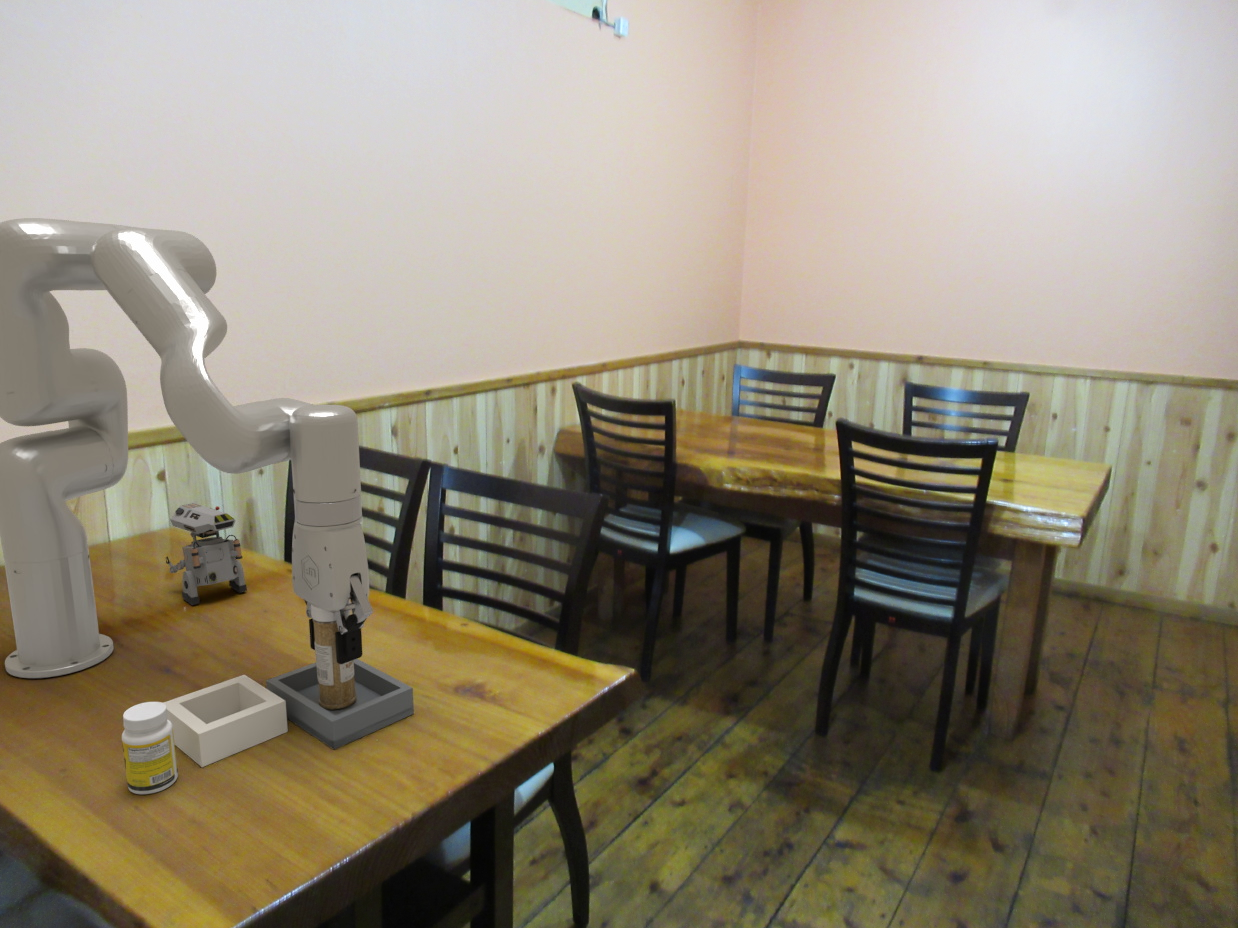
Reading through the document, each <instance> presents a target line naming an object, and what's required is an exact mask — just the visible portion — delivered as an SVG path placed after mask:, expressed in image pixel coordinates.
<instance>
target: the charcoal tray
mask: <svg viewBox="0 0 1238 928" xmlns="http://www.w3.org/2000/svg"><path fill="white" fill-rule="evenodd" d="M353 662H354V682H355V693H356V696H357V698H356V700H355V702H354V703H352V704H351V705H349V706H347V707H345V708H341V709H334V710H332V709H326V708H323V707H322V706H320V704H319V698H320V695H319V682H318V678H317V667H316V662H313V663H311V664H308V665H305V666H302V667H300V668H296V669H294V670H292V671H288V672H285V673H282V674H279V675H277V676H274V677H272V678H269V679H266V680H265V684H266V685H265V686H266V689H268V690H269V691H271V692H272V693H274V694H276V695H277V696H279V697H280V698H282V699H283V700H285V701H286V715H287V721H290V722H292V723H293V724H295V726H297V727H299V728H301V729H302V730H304V731H305V732H306V733H308V734H309V735H311V736H313V737H314V738H315V739H317V740H319V741H320V742H322V743H323V744H325V745H326V746H327V747H329V748H330V749H332V750H337V749H339V748H340V747H342V746H346V745H348V744H350V743H352V742H355V741H356V740H358V739H361V738H363V737H365V736H367V735H370V734H372V733H375V732H376V731H378V730H381V729H383V728H385V727H387V726H388V727H389V726H390V725H392V724H394V723H396V722H398V721H401V720H403V719H406V718H408V717H409V716H412V715H414V713H415V711H414V709H415V708H414V707H415V706H414V691H413V690H414V687H413V686H410V685H408V684H406V683H405V682H403V681H401V680H399V679H397V678H395V677H393V676H391V675H389V674H387V673H385V672H383V671H382V670H379V669H378V668H376V667H374V666H372V665H371V664H368V663H366V662H364V661H362V660H360V658H358V659H355V660H353Z"/></svg>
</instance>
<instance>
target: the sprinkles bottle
mask: <svg viewBox="0 0 1238 928" xmlns="http://www.w3.org/2000/svg"><path fill="white" fill-rule="evenodd" d="M349 603H351V599H348V601H347V604H349ZM351 614H352V609H350V610H347V611H344V615H345V619H347V618H348V616H349V615H351ZM311 616H312V618H313V622H314V635H315V650H314V651H315V652H314V653H315V655H314V656H315V663H316V667H317V678H318V682H319V695H320V698H319V704H320V706H322V707H323V708H326V709H332V710H334V709H341V708H345V707H347V706H349V705H351V704H352V703H354V702H355V700H356V698H357V696H356V693H355V682H354V662H353V660H352V661H349V662H347V663H344V664H339V663H337V659H336V641H335V633H336V632H339V630H338V626H337V621H336V616H335V613H332V612H329V611H326V610H324V609H322V608H320V607H318V606H316V605H314V604H312V603H311ZM312 618H311V619H312Z"/></svg>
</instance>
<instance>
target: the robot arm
mask: <svg viewBox="0 0 1238 928" xmlns="http://www.w3.org/2000/svg"><path fill="white" fill-rule="evenodd" d="M215 261H216V260H215V258H214V256H213V254H212V252H211V251H210V249H209V248H208V246H206V244H205V243H204V242H203V241H201V240H200V238H198V237H196V236H195V235H192V234H190V233H188V232H185V231H180V230H173V229H172V230H169V229H155V228H147V227H146V228H145V227H138V226H130V225H129V226H128V225H122V224H112V223H102V222H101V223H100V222H90V221H89V222H87V221H75V220H68V219H67V220H66V219H58V218H57V219H55V218H54V219H53V218H37V217H31V218H29V217H27V218H14V219H9V220H4V221H2V222H0V418H1V419H2V420H3V421H4V422H5V423H8V424H10V425H12V426H18V427H38V426H44V425H45V426H46V425H52V424H59V423H65V422H68V424H67V425H68V427H67V428H62V429H55V430H47V431H42V432H41V431H40V432H37V433H32V434H31V433H30V434H26V435H20V436H17V437H16V436H15V437H13V438H9V439H7V440H4V441H2V442H0V542H1V549H2V550H1V551H2V555H3V561H4V562H3V563H4V569H5V576H6V582H7V588H8V590H7V591H8V596H9V601H10V602H9V603H10V609H11V616H12V617H11V618H12V622H13V623H12V624H13V631H14V638H15V644H16V649H15V650H14V651H12V652H11V653H10V654H9V655H7V657H6V658H5V660H4V666H5V667H4V668H5V671H6V672H7V673H8V674H9V675H11V676H14V677H18V678H21V679H22V678H23V679H44V678H45V679H46V678H52V677H60V676H64V675H68V674H72V673H76V672H79V671H82V670H85V669H88V668H90V667H93V666H96V665H97V664H100V663H101V662H103V661H105V659H107V658H108V657H109V656H110V655H111V654H112V653H113V651H114V641H113V639H112V638H111V637H110V636H108V635H105V634H102V633H100V632H99V624H98V623H99V622H98V616H97V607H96V599H95V592H94V591H95V590H94V583H93V574H92V566H91V560H90V559H91V558H90V557H91V556H90V551H89V542H88V535H87V531H86V529H85V526H84V524H83V522H82V521H81V520H80V519H79V517H77V516H76V515H75V513H74V512H73V511H72V509H70V507H69V506H68V505H67V501H70V500H73V499H77V498H81V497H82V496H83V497H84V496H86V495H90V494H95V493H98V492H100V491H104V490H107V489H110V488H112V487H114V486H115V485H117V484H118V483H119V482H120V481H121V480H122V479H123V478H124V476H125V474H126V472H127V468H128V462H129V419H128V418H129V415H128V412H129V411H128V409H129V408H128V405H129V404H128V389H127V385H126V381H125V378H124V374H123V373H122V370H121V368H120V367H119V365H118V364H117V363H116V361H115V360H114V358H112V357H111V356H109V355H108V354H106V353H105V352H103V351H101V350H97V349H94V348H86V347H82V348H81V347H80V348H71V347H70V325H69V321H68V317H67V315H66V313H65V310H64V309H63V308H62V306H61V304H60V302H58V300H57V298H56V297H55V296H54V294H52V292H53V291H80V292H81V291H106V292H107V293H108V294H109V295H110V296H111V298H112V300H113V301H115V303H116V304H117V306H119V307H120V309H121V310H122V311H123V313H124V314H125V315H126V316H127V317H128V319H129V320H130V322H132V323H133V325H134V327H136V328H137V329H138V331H139V332H140V334H141V335H142V337H144V338H145V340H146V341H147V342H148V344H149V345H150V346H151V347H152V348H153V350H155V352H156V353H157V355H158V356H159V358H160V360H161V364H160V371H159V372H160V373H159V381H160V382H159V383H160V388H161V394H162V400H163V404H164V407H165V409H166V413H167V414H168V416H169V418H170V420H171V422H172V423H173V425H174V426H175V427H176V428H177V430H178V432H179V433H180V434H181V435H182V437H184V440H186V442H188V444H189V445H190V447H191V448H192V449H193V451H195V452H196V453H197V454H198V456H200V457H201V458H202V459H203V460H204V461H205V462H206V463H208V465H210V466H211V467H213V468H215V469H216V470H218V471H221V472H223V473H226V474H236V475H237V474H244V473H248V472H251V471H255V470H259V469H262V468H264V467H268V466H270V465H275V464H279V463H284V462H287V461H291V462H290V463H291V473H292V489H293V504H294V505H293V506H294V524H293V529H292V540H291V541H292V542H291V543H292V544H291V545H292V546H291V578H292V591H293V592H294V594H295V596H297V597H299V598H300V599H302V600H303V601H304V603H305V605H306V610H305V613H306V616H307V618H309V619H308V624H309V625H308V629H309V643H310V648H311V650H313V651H315V635H314V622H313V618H312V616H311V603H312V604H314V605H316V606H318V607H320V608H322V609H324V610H326V611H329V612H332V613H335V616H336V621H337V626H338V630H339V632H336V633H335V641H336V659H337V663H339V664H344V663H347V662H349V661H352V660H355V659H361V657H363V639H362V637H363V636H362V634H363V633H362V628H364V626H365V624H364V623H365V622H366V621H367V619H368V618H369V617H370V616H372V615H373V613H374V611H373V607H372V604H371V603H370V601H369V596H370V575H369V564H368V555H367V554H368V553H367V549H366V548H367V547H366V542H365V536H364V531H363V527H362V526H363V525H362V521H363V512H362V511H363V510H362V509H363V506H362V486H361V482H362V481H361V465H360V464H361V463H360V462H361V461H360V445H359V444H360V441H359V425H358V424H359V423H358V417H357V414H356V412H355V410H353V409H352V408H350V407H349V406H346V405H340V404H313V403H310V402H309V403H308V402H306V401H302V400H299V399H294V398H287V397H286V398H285V397H277V398H271V399H266V400H260V401H259V400H258V401H253V402H248V403H244V404H243V403H242V404H239V405H233V404H232V403H231V402H230V401H229V400H228V399H227V398H226V397H225V395H224V394H223V393H222V391H221V390H220V389H219V388H218V386H217V385H216V384H215V383H214V381H213V379H212V378H211V376H210V374H209V372H208V370H207V366H206V362H205V359H206V358H207V357H208V356H210V355H211V354H212V353H213V352H214V351H215V350H217V348H218V347H219V346H220V345H221V344H222V342H223V341H224V339H225V337H226V335H227V334H228V333H227V332H228V323H227V320H226V319H225V316H224V315H223V314H222V313H221V312H220V310H219V309H218V308H217V307H216V306H215V304H214V303H213V302H212V301H211V300H210V298H208V296H207V295H206V294H208V293H209V292H210V290H211V289H212V288H213V287H214V285H215V283H216V279H217V264H216V262H215ZM348 599H350V603H349V604H347V601H348ZM350 609H351V614H350V615H349V616H348V618H347V619H345V615H344V611H347V610H350Z"/></svg>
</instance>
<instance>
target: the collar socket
mask: <svg viewBox="0 0 1238 928" xmlns="http://www.w3.org/2000/svg"><path fill="white" fill-rule="evenodd" d="M162 703H163V704H165V705H166V708H167V715H168V720H169V721H170V722H171V723H172V726H173V734H174V743H175V747H177V748H178V749H179V750H181V752H183V753H184V754H186V755H187V757H189V758H190V759H191V760H193V761H194V762H195V763H196V764H198V766H200V767H201V768H204V767H206V766H209V765H211V764H214V763H216V762H218V761H221V760H223V759H225V758H228V757H230V756H233V755H235V754H237V753H240V752H242V751H245V750H248V749H250V748H251V747H255V746H257V745H260V744H261V743H264V742H266V741H269V740H271V739H274V738H276V737H279V736H281V735H284V734H286V733H287V732H289V731H288V729H289V728H288V719H287V715H286V701H285V700H283V699H282V698H280V697H279V696H277V695H276V694H274V693H272V692H271V691H269V690H268V689H267V687H265V686H263V685H261V684H260V683H258V682H257V681H255V680H254V679H252V678H250V677H249V676H248V675H246V674H242V675H239V676H236V677H234V678H230V679H228V680H224V681H221V682H219V683H216V684H213V685H210V686H207V687H204V688H202V689H199V690H196V691H193V692H190V693H187V694H184V695H182V696H178V697H175V698H173V699H170V700H167V701H164V702H162Z"/></svg>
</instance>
